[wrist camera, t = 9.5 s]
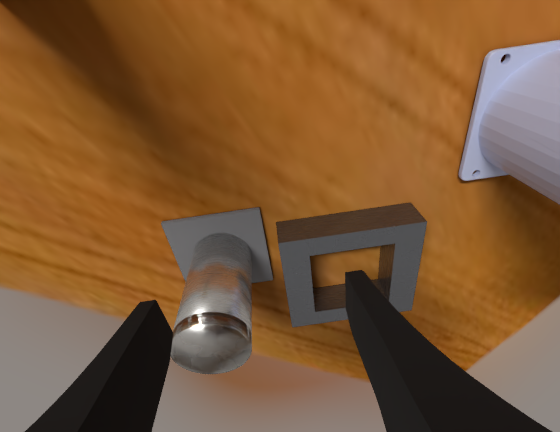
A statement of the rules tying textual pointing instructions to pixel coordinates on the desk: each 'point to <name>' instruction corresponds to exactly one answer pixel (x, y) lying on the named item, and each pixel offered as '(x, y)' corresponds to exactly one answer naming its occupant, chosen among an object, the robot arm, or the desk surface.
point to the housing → (348, 236)
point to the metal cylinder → (215, 307)
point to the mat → (237, 223)
